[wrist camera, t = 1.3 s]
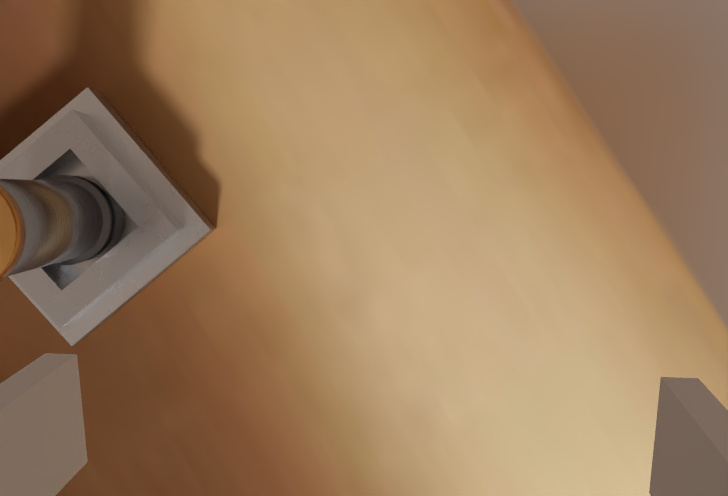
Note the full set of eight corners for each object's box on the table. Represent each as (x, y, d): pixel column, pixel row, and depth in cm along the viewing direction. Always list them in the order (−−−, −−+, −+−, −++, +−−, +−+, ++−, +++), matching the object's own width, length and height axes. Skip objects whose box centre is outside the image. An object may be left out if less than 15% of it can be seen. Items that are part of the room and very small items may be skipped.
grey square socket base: (84, 338, 40) (57, 354, 36) (-36, 205, 39) (-77, 207, 35) (216, 228, 40) (204, 232, 36) (99, 92, 39) (73, 81, 35)
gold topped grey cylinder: (75, 277, 38) (-54, 323, 25) (18, 213, 37) (-146, 225, 24) (140, 224, 38) (44, 241, 25) (83, 158, 37) (-46, 141, 24)
